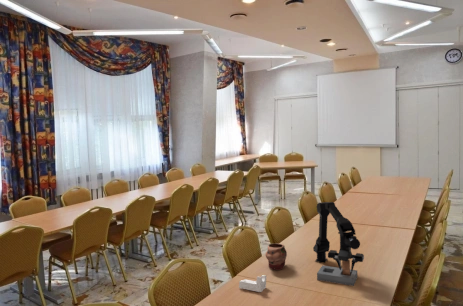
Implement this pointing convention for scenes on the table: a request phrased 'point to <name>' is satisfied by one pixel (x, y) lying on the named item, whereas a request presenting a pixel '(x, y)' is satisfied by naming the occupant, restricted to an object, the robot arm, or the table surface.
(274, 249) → the decorative planter
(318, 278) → the hole board
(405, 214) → the table surface
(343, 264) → the pin
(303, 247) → the table surface
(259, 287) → the bracket
